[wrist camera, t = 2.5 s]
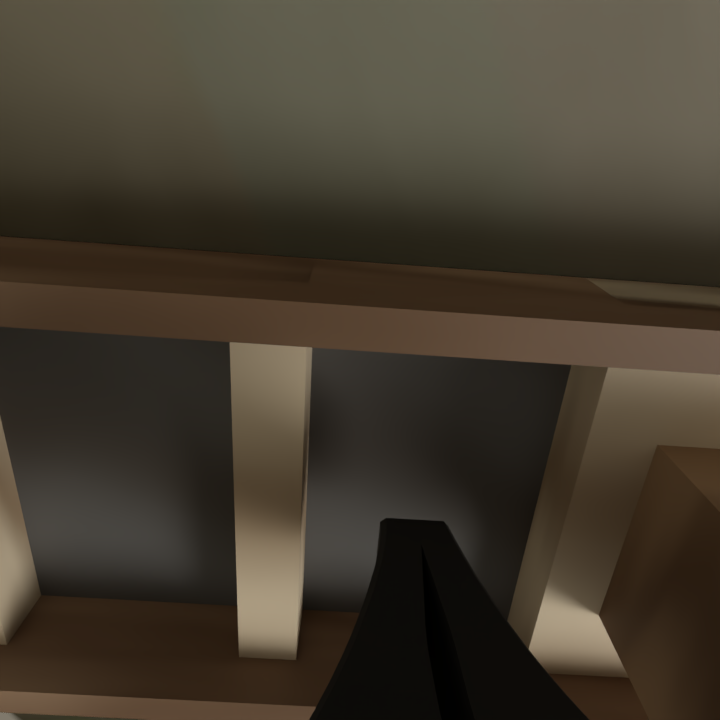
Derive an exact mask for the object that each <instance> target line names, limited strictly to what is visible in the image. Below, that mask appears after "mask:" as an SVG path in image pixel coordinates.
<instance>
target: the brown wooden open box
mask: <svg viewBox="0 0 720 720" xmlns="http://www.w3.org/2000/svg"><path fill="white" fill-rule="evenodd" d="M657 445H666V446H682V447H698V448H713V449H720V287H709V286H695V285H681V284H667V283H653V282H639V281H624V280H610V279H596V278H582V277H568V276H554V275H540V274H526V273H512V272H498V271H483V270H469V269H455V268H441V267H427V266H413V265H399V264H385V263H371V262H356V261H342V260H328V259H314V258H300V257H286V256H272V255H258V254H244V253H230V252H215V251H201V250H187V249H173V248H159V247H145V246H131V245H117V244H103V243H89V242H74V241H60V240H46V239H32V238H18V237H4V236H0V712H6V713H26V714H46V715H66V716H86V717H106V718H126V719H146V720H309V719H310V717H311V715H312V714H313V712H314V710H315V708H316V706H317V704H318V702H319V700H320V699H321V697H322V695H323V693H324V691H325V689H326V687H327V685H328V683H329V682H330V680H331V678H332V676H333V673H334V671H335V669H336V667H337V665H338V663H339V661H340V659H341V657H342V654H343V652H344V650H345V648H346V645H347V643H348V641H349V639H350V636H351V634H352V631H353V629H354V626H355V624H356V621H357V618H358V616H359V613H360V611H361V608H362V605H363V603H364V600H365V597H366V594H367V591H368V588H369V584H370V581H371V578H372V574H373V571H374V567H375V563H376V557H377V547H378V538H379V528H380V522H381V521H382V520H384V519H385V518H398V519H416V520H433V521H444V522H445V523H446V524H447V525H448V527H449V529H450V530H451V532H452V534H453V536H454V538H455V540H456V541H457V543H458V545H459V547H460V549H461V550H462V552H463V554H464V555H465V557H466V559H467V560H468V562H469V564H470V565H471V567H472V569H473V570H474V572H475V574H476V575H477V577H478V578H479V580H480V581H481V583H482V585H483V586H484V588H485V589H486V591H487V592H488V593H489V595H490V596H491V598H492V599H493V601H494V602H495V604H496V605H497V607H498V608H499V610H500V611H501V613H502V614H503V615H504V617H505V618H506V620H507V621H508V623H509V624H510V625H511V627H512V628H513V629H514V631H515V632H516V633H517V635H518V636H519V637H520V639H521V640H522V641H523V643H524V644H525V645H526V647H527V648H528V649H529V650H530V652H531V653H532V654H533V655H534V657H535V658H536V659H537V660H538V662H539V663H540V664H541V665H542V667H543V668H544V669H545V670H546V671H547V673H548V674H549V675H550V676H551V677H552V678H553V680H554V681H555V682H556V683H557V684H558V685H559V687H560V688H561V689H562V690H563V691H564V692H565V693H566V695H567V696H568V697H569V698H570V699H571V700H572V701H573V702H574V703H575V704H576V705H577V707H578V708H579V709H580V710H581V711H582V712H583V713H584V714H585V715H586V716H587V718H588V719H589V720H649V718H648V716H647V714H646V712H645V710H644V708H643V706H642V704H641V702H640V700H639V698H638V696H637V693H636V691H635V689H634V687H633V685H632V683H631V681H630V679H629V677H628V675H627V673H626V671H625V669H624V667H623V665H622V662H621V660H620V658H619V656H618V654H617V652H616V650H615V648H614V646H613V644H612V642H611V640H610V638H609V636H608V634H607V632H606V629H605V627H604V625H603V623H602V621H601V619H600V617H599V613H600V610H601V607H602V604H603V601H604V598H605V595H606V592H607V590H608V587H609V584H610V581H611V578H612V575H613V572H614V569H615V566H616V563H617V561H618V558H619V555H620V552H621V549H622V546H623V543H624V540H625V537H626V534H627V532H628V529H629V526H630V523H631V520H632V517H633V514H634V511H635V508H636V505H637V503H638V500H639V497H640V494H641V491H642V488H643V485H644V482H645V479H646V476H647V473H648V471H649V468H650V465H651V462H652V459H653V456H654V453H655V450H656V447H657Z"/></svg>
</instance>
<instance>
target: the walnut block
mask: <svg viewBox="0 0 720 720" xmlns="http://www.w3.org/2000/svg"><path fill="white" fill-rule="evenodd" d="M599 617H600V619H601V621H602V623H603V625H604V627H605V629H606V632H607V634H608V636H609V638H610V640H611V642H612V644H613V646H614V648H615V650H616V652H617V654H618V656H619V658H620V660H621V662H622V665H623V667H624V669H625V671H626V673H627V675H628V677H629V679H630V681H631V683H632V685H633V687H634V689H635V691H636V693H637V696H638V698H639V700H640V702H641V704H642V706H643V708H644V710H645V712H646V714H647V716H648V718H649V720H720V449H713V448H698V447H682V446H666V445H657V447H656V450H655V453H654V456H653V459H652V462H651V465H650V468H649V471H648V473H647V476H646V479H645V482H644V485H643V488H642V491H641V494H640V497H639V500H638V503H637V505H636V508H635V511H634V514H633V517H632V520H631V523H630V526H629V529H628V532H627V534H626V537H625V540H624V543H623V546H622V549H621V552H620V555H619V558H618V561H617V563H616V566H615V569H614V572H613V575H612V578H611V581H610V584H609V587H608V590H607V592H606V595H605V598H604V601H603V604H602V607H601V610H600V613H599Z"/></svg>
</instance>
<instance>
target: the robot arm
mask: <svg viewBox="0 0 720 720" xmlns="http://www.w3.org/2000/svg"><path fill="white" fill-rule="evenodd" d="M309 720H589V719H588V718H587V716H586V715H585V714H584V713H583V712H582V711H581V710H580V709H579V708H578V707H577V705H576V704H575V703H574V702H573V701H572V700H571V699H570V698H569V697H568V696H567V695H566V693H565V692H564V691H563V690H562V689H561V688H560V687H559V685H558V684H557V683H556V682H555V681H554V680H553V678H552V677H551V676H550V675H549V674H548V673H547V671H546V670H545V669H544V668H543V667H542V665H541V664H540V663H539V662H538V660H537V659H536V658H535V657H534V655H533V654H532V653H531V652H530V650H529V649H528V648H527V647H526V645H525V644H524V643H523V641H522V640H521V639H520V637H519V636H518V635H517V633H516V632H515V631H514V629H513V628H512V627H511V625H510V624H509V623H508V621H507V620H506V618H505V617H504V615H503V614H502V613H501V611H500V610H499V608H498V607H497V605H496V604H495V602H494V601H493V599H492V598H491V596H490V595H489V593H488V592H487V591H486V589H485V588H484V586H483V585H482V583H481V581H480V580H479V578H478V577H477V575H476V574H475V572H474V570H473V569H472V567H471V565H470V564H469V562H468V560H467V559H466V557H465V555H464V554H463V552H462V550H461V549H460V547H459V545H458V543H457V541H456V540H455V538H454V536H453V534H452V532H451V530H450V529H449V527H448V525H447V524H446V523H445V522H444V521H433V520H416V519H398V518H385V519H384V520H382V521H381V522H380V528H379V538H378V547H377V557H376V563H375V567H374V571H373V574H372V578H371V581H370V584H369V588H368V591H367V594H366V597H365V600H364V603H363V605H362V608H361V611H360V613H359V616H358V618H357V621H356V624H355V626H354V629H353V631H352V634H351V636H350V639H349V641H348V643H347V645H346V648H345V650H344V652H343V654H342V657H341V659H340V661H339V663H338V665H337V667H336V669H335V671H334V673H333V676H332V678H331V680H330V682H329V683H328V685H327V687H326V689H325V691H324V693H323V695H322V697H321V699H320V700H319V702H318V704H317V706H316V708H315V710H314V712H313V714H312V715H311V717H310V719H309Z"/></svg>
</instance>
